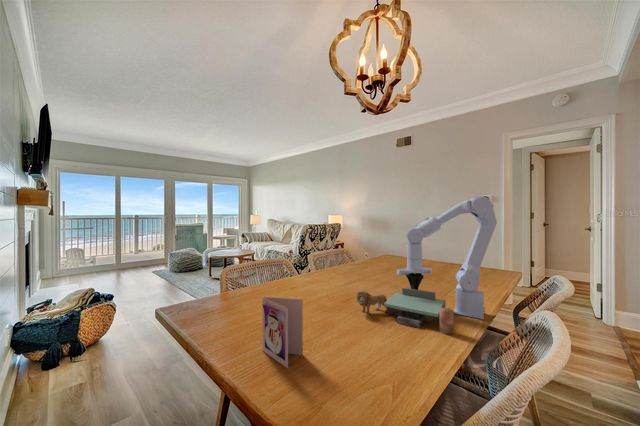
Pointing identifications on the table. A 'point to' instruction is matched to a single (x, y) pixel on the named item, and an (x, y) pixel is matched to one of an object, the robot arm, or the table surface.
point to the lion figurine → (370, 300)
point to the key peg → (446, 321)
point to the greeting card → (282, 328)
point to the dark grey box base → (413, 317)
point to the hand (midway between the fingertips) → (414, 292)
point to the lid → (416, 302)
